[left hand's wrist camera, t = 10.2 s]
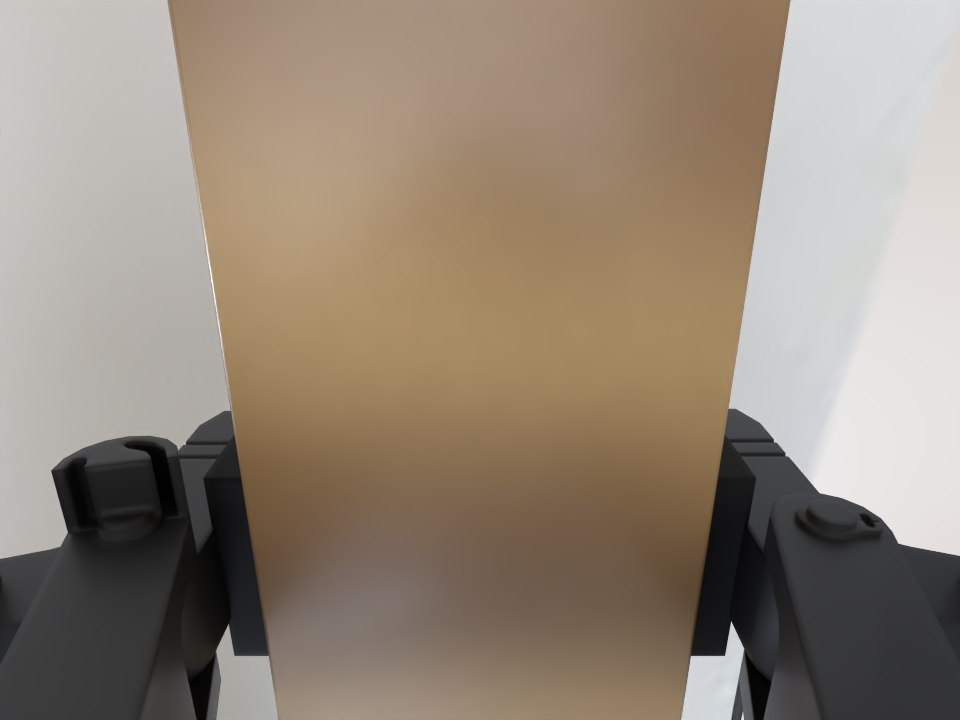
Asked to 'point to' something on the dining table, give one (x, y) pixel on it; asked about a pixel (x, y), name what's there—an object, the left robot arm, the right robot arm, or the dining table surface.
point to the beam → (479, 334)
